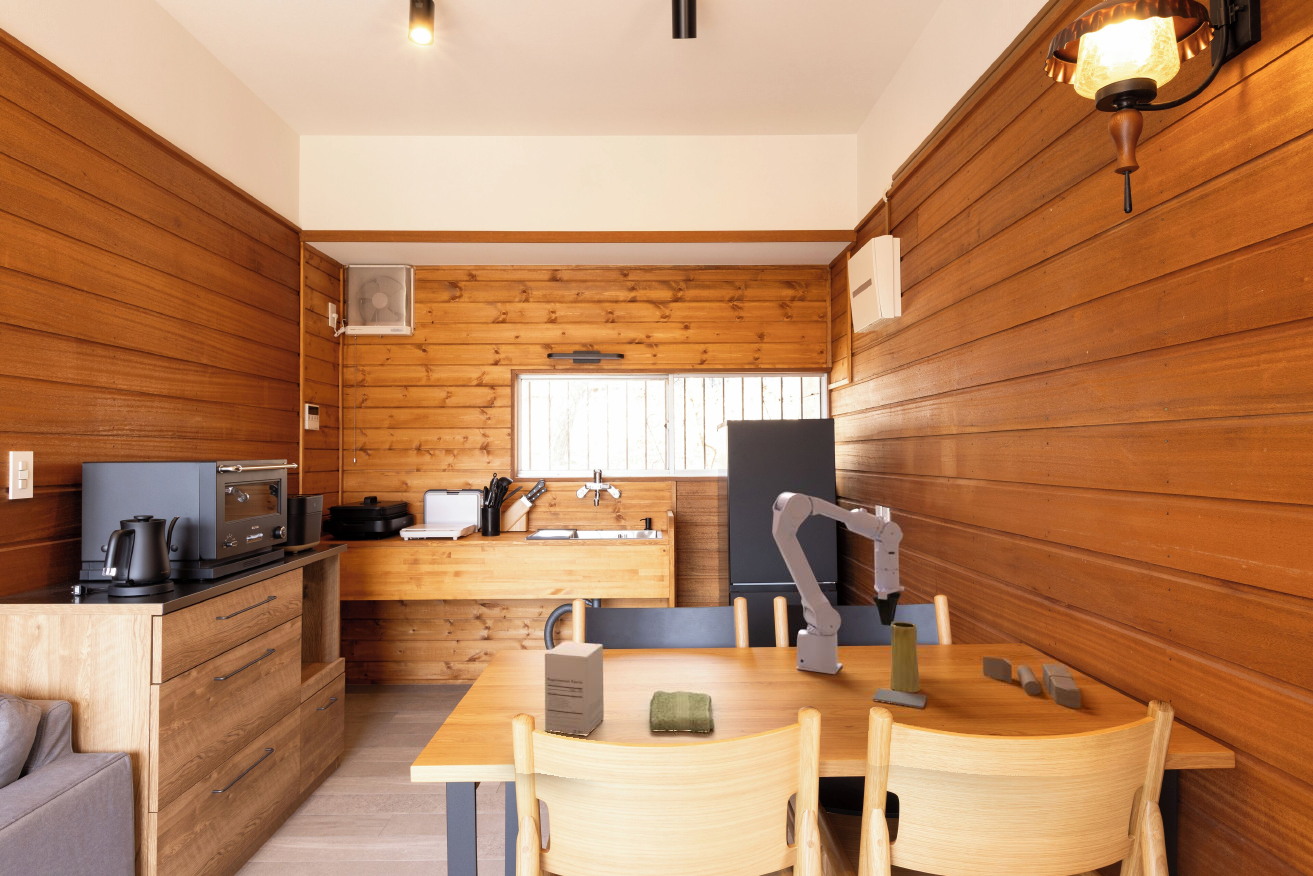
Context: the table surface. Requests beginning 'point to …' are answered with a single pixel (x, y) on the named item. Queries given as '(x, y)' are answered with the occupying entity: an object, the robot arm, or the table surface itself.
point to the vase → (904, 658)
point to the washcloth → (681, 711)
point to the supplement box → (574, 687)
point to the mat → (900, 698)
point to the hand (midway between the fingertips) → (887, 623)
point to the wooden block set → (1053, 678)
